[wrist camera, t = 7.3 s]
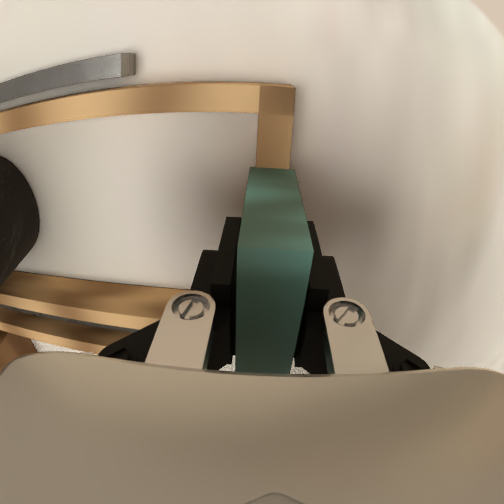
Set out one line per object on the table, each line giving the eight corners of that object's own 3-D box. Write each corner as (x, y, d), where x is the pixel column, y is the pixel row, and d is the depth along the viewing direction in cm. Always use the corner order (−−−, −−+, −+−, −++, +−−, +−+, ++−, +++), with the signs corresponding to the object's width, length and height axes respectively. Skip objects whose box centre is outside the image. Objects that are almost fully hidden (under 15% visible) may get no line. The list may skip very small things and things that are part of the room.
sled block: (165, 324, 19) (130, 436, 13) (181, 397, 24) (164, 483, 18) (-44, 286, 20) (-88, 343, 13) (-7, 351, 25) (-38, 406, 18)
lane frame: (135, 53, 11) (109, 53, 9) (181, 406, 25) (176, 430, 23) (-96, 131, 11) (-116, 141, 9) (-9, 357, 25) (-19, 373, 23)
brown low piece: (295, 85, 12) (333, 106, 5) (273, 308, 18) (274, 437, 12) (-54, 129, 12) (-139, 179, 5) (-13, 276, 19) (-68, 345, 12)
